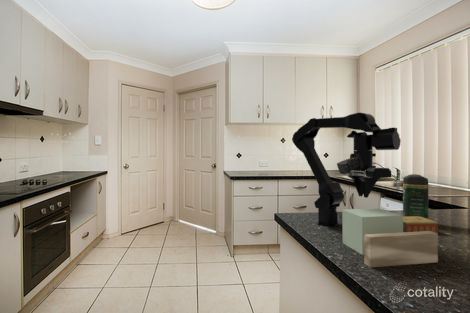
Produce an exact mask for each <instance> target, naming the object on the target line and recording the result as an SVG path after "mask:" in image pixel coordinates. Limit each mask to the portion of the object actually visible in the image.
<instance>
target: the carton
mask: <svg viewBox="0 0 470 313" xmlns="http://www.w3.org/2000/svg"><path fill="white" fill-rule="evenodd" d="M438 230H439V228H438V222H437V221H435V220H433V219H429V218H428V219H427V218H424V217H420V216H403V232H420V231H432V232H435V233H438V234H439V231H438Z"/></svg>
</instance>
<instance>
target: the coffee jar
mask: <svg viewBox="0 0 470 313" xmlns="http://www.w3.org/2000/svg"><path fill="white" fill-rule="evenodd" d="M429 196H430V194H429V179H428V178H427V177H425V176H423V175H421V174H415V173H414V174H412V173H411V174H408V175H405V176H404V177H403V179H402V215H403V216H420V217H424V218H427V219H429Z"/></svg>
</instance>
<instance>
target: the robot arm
mask: <svg viewBox="0 0 470 313" xmlns="http://www.w3.org/2000/svg"><path fill="white" fill-rule="evenodd" d="M341 128H343V129H345V128H346V129H349V130H351V129H352V130H351V131H350V133H348V135H346V137H347V138H348V139H353V153H351V154H350V155H349V158H347V159H343V160H341V161H339V162H337V163H336V166H337V169H338V172H339V174H341V175H342V174H343V175H345V174H347V175H346V176H347V177H349V179H351V180H352V181H353V184H354V186H355V188H356V192H357V195H358V197H363V198H365V199H366V198H367V199H368V197H369V196H370V194H371V193H372V191H373V188H374V186H375V185H376V184H377V182H378V181H379V180H380V179H381V178H392V170H391V169H390V168H388V167H376V165H374V164H373V163H374V158H373V157H376V154H377V153H374V152H373V151H374V150H373V148H374V149H375V150H376V151H397V150H399V149H400V147H401V142H402V140H401V138H400V134H399V132H398V127H388V128H381V127H380V126H379V125H378V124H377V122H376V119H375V117H374V116H373V115H372V114H371V113H365V112H355V113H351V114H348V115H345V116H339V117H338V116H337V117H320V118H316V117H311V118H310V119H309V120H308V121H307V122H306V123H305V124H303V125H302V126H300V127H299V128H297V130H296V131H295V132H294V133H293V135H292V138H291V140H292V143H293V144H294V146H295V147H296V149H297V150H298V151H299V152H301V153H302V154H303V155H304V158H305V160H306V162H307V164H308V166H309V168H310V170H311V171H312V175H313V176H314V178H315V180H316V182H317V184H318V195H319V197H318V198H317V199H316V200H315V201H314V207H315V208H316V209H317V211H318V212H317V213H318V216H317V218H318V220H317V224H316V225H320V226H327V227H337V225H338V224H339V211H337V208H339V207H340V205H341V203H342V202H343V201H344V198H345V191H344V189H343V188H342V187H341V184H340V182H339V181H337V182H336V181H333V180H332V179H331V177H330V175H329V174H328V172H327V170H326V167H325V166H324V164H323V161H322V160H321V158H320V156H319V155H318V152H317V150H316V148H315V144H316V143H315V138H316V137H317V136H318V133H319V131H320V129H341ZM357 131H360V132H357ZM361 131H362V132H361ZM368 133H372V134H368ZM348 174H349V175H348Z"/></svg>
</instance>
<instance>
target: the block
mask: <svg viewBox="0 0 470 313" xmlns="http://www.w3.org/2000/svg"><path fill="white" fill-rule="evenodd" d="M341 213H342V214H341V216H342V220H341V221H342V244H343V245H345V246H347V247H348V248H350V249H352V250H353V251H355V252H357V253H358V254H360V255H362V256H364V235H366V234H384V233H402V232H403V214H400V213H397V212H393V211H391V210H387V209H383V208H380V207H378V208H377V207H376V208H351V209H349V208H348V209H342V212H341Z"/></svg>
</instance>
